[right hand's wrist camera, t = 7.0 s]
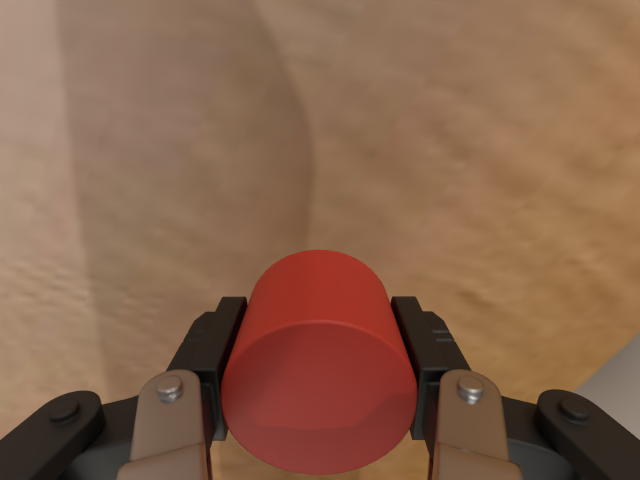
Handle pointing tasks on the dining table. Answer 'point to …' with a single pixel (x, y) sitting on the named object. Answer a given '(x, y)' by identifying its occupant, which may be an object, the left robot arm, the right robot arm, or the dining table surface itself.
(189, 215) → the dining table surface
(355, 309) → the can
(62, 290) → the dining table surface
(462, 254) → the dining table surface
